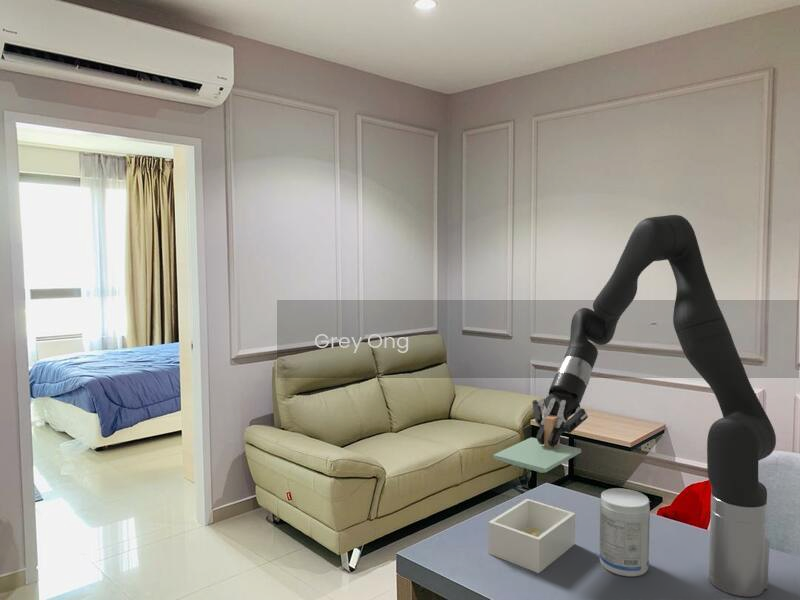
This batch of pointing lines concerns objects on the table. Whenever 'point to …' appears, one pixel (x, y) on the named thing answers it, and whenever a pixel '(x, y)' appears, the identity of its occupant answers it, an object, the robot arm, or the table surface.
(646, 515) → the supplement tub
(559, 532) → the parts tub
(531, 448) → the lid
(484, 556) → the table surface
